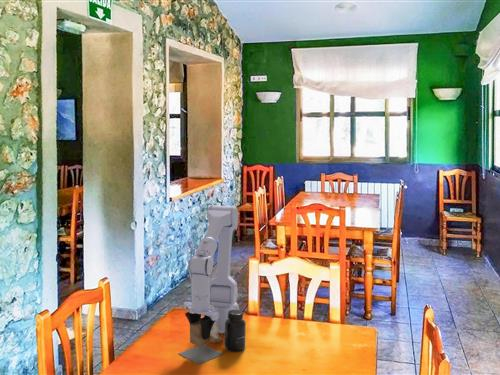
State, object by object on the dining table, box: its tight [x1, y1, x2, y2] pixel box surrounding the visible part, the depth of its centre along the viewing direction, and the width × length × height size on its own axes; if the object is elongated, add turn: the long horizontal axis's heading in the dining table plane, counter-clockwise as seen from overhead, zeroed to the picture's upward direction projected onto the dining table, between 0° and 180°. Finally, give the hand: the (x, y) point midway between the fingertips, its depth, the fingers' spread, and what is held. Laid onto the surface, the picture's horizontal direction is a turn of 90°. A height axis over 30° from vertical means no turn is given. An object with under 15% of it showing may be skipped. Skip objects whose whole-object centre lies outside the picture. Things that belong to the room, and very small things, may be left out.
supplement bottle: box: [223, 309, 247, 353], centre depth 165 cm, size 7×7×12 cm
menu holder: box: [201, 316, 223, 344], centre depth 173 cm, size 10×3×6 cm, turn 45°
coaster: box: [178, 344, 224, 365], centre depth 161 cm, size 10×10×1 cm
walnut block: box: [189, 321, 211, 347], centre depth 160 cm, size 4×4×6 cm
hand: (200, 336), depth 160 cm, fingers closed on walnut block, 4 cm apart
